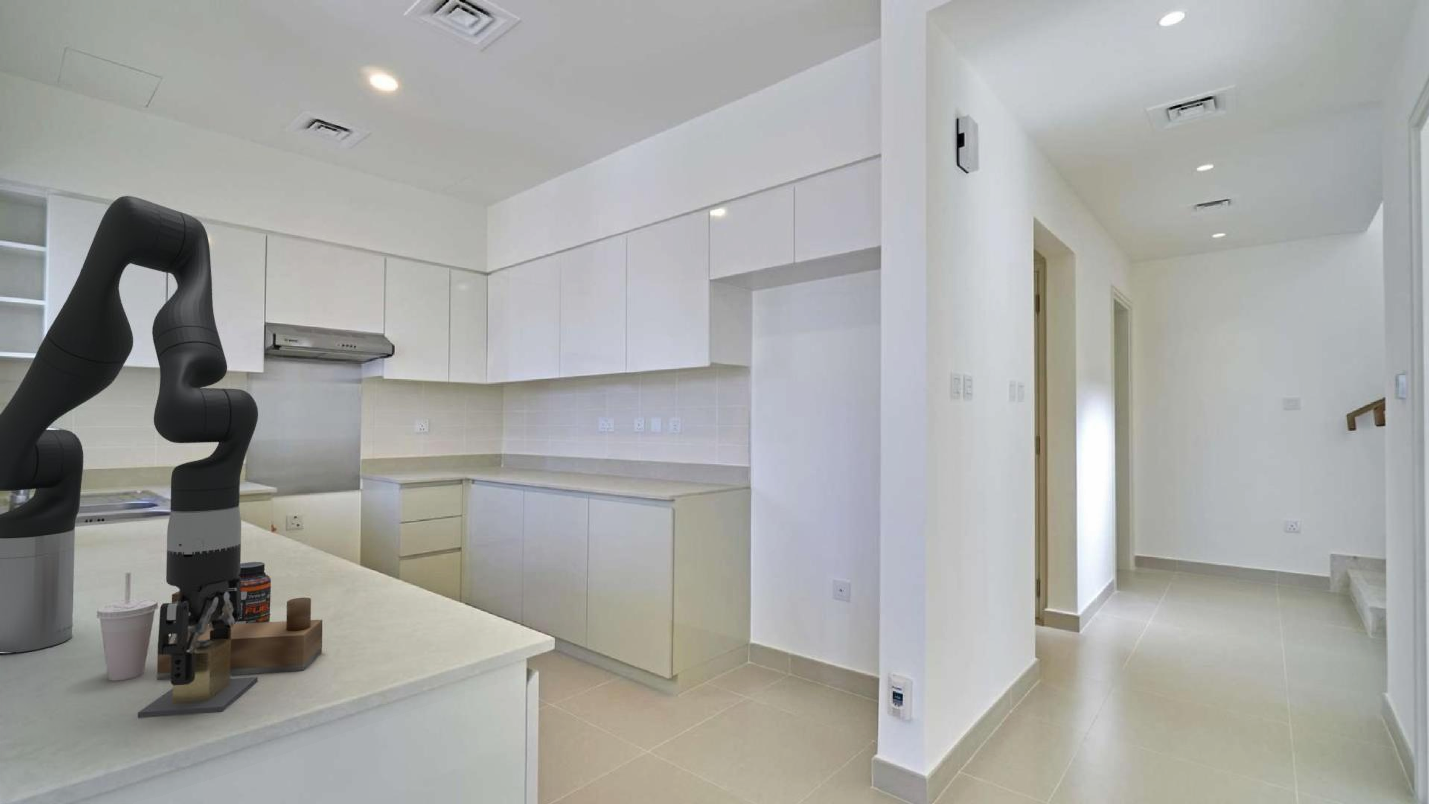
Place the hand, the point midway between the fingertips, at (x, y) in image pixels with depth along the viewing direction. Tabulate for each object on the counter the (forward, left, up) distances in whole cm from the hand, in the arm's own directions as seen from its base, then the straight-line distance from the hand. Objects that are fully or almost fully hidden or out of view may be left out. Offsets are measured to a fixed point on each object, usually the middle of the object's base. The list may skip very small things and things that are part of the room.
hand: (202, 670), depth 84 cm
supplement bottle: (-6, +26, -4) cm, 27 cm away
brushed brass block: (0, 0, -3) cm, 3 cm away
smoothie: (-14, +10, -4) cm, 18 cm away
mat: (0, 0, -4) cm, 4 cm away
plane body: (0, +11, -4) cm, 12 cm away
